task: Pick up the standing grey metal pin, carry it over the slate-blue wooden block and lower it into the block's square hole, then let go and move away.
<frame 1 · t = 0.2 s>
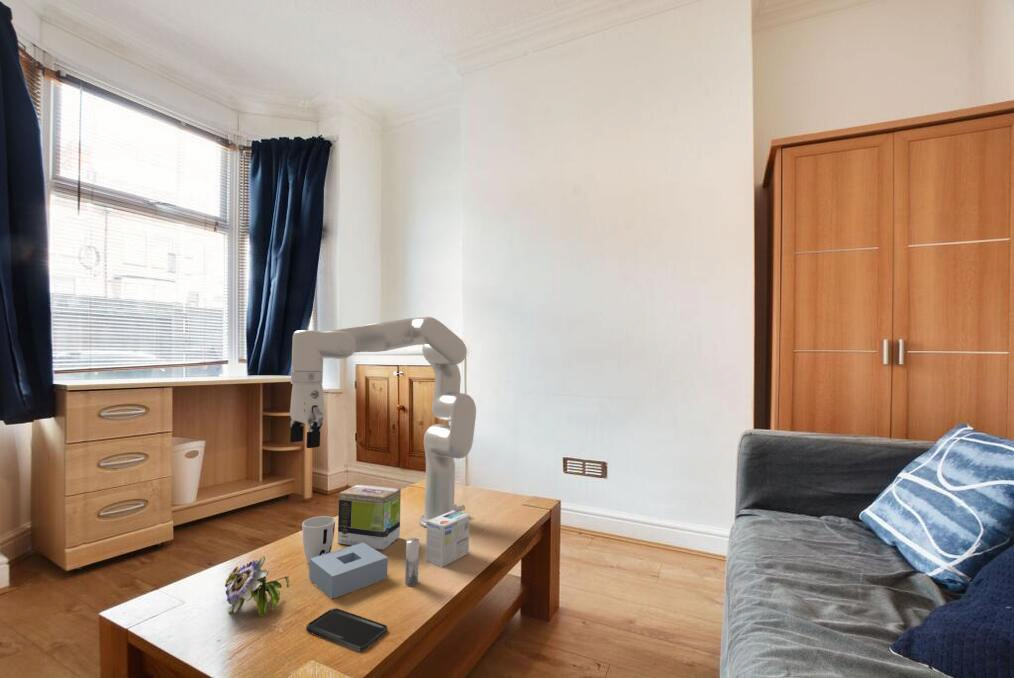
hand: (304, 444, 118), 31 cm above the table, tool pointing down, fingers open, 9 cm apart
phone: (346, 633, 91), on the table
light bulb box: (447, 557, 124), on the table
pin: (411, 582, 110), on the table
tea box: (369, 541, 134), on the table
passion flower: (254, 606, 99), on the table
cup: (317, 560, 121), on the table
hole block: (348, 578, 111), on the table
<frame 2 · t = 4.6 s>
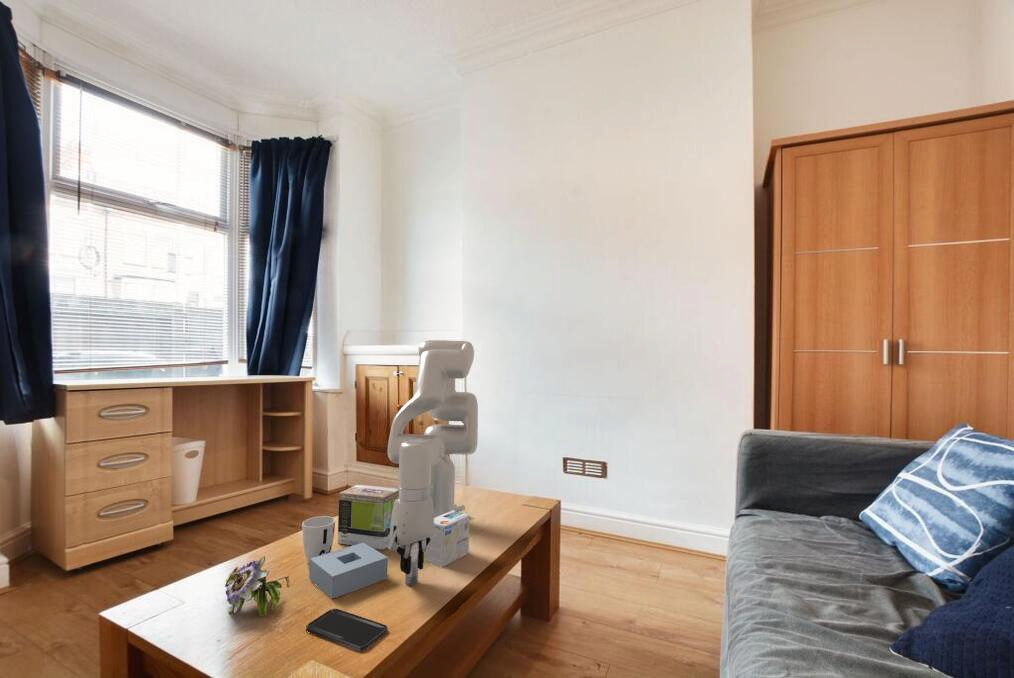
hand: (411, 569, 110), 3 cm above the table, tool pointing down, fingers closed on pin, 3 cm apart
pin: (411, 582, 110), on the table, touching gripper
everything else where it was.
when the fingers open (6 cm above the table, at t = 9.3 s): pin drops 3 cm, resting in hole block.
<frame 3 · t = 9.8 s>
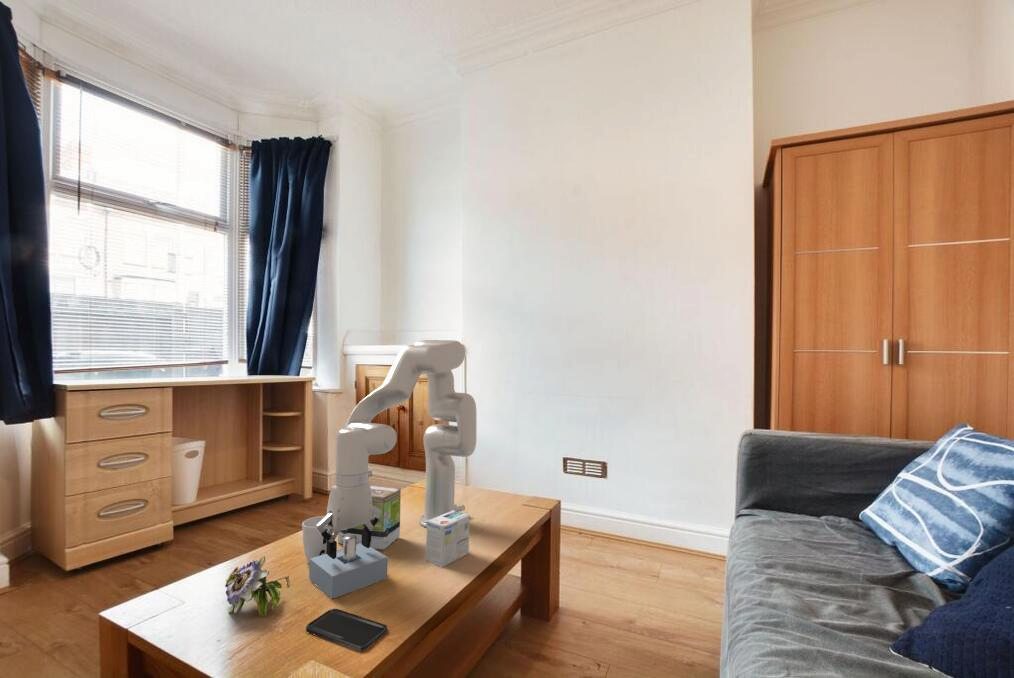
hand: (349, 551, 111), 7 cm above the table, tool pointing down, fingers open, 8 cm apart
pin: (348, 578, 111), resting in hole block
everything else where it was.
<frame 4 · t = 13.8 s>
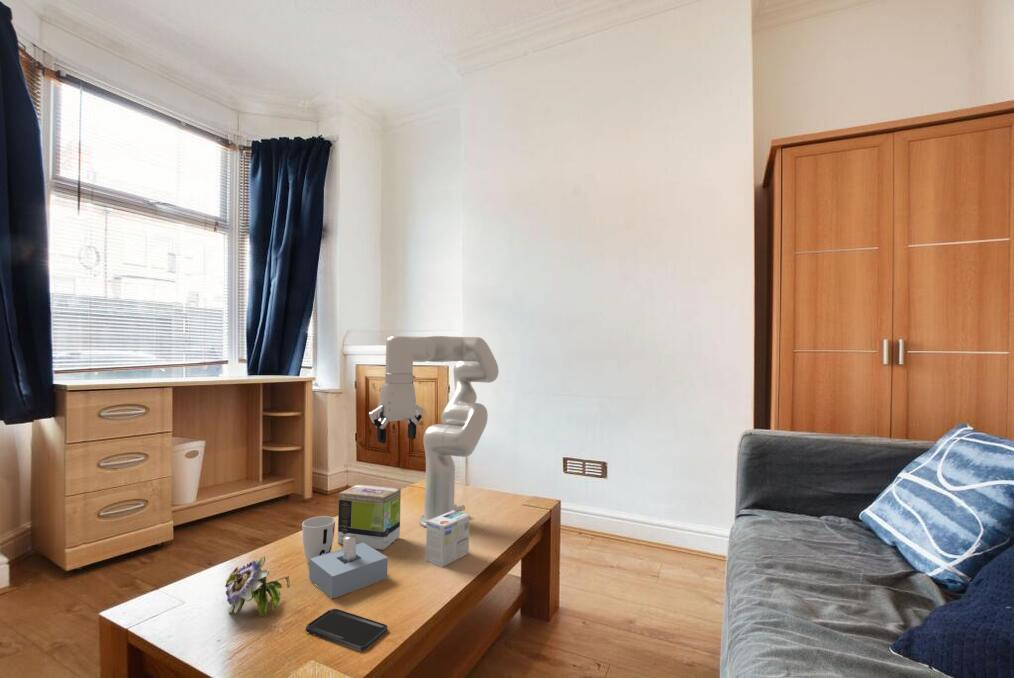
hand: (396, 440, 129), 30 cm above the table, tool pointing down, fingers open, 9 cm apart
nothing on the table moved.
at the end: pin 0.0 cm off-centre on the hole block, point 0.0 cm above the hole block's base; pin tilted 0°; the gripper is holding nothing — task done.
